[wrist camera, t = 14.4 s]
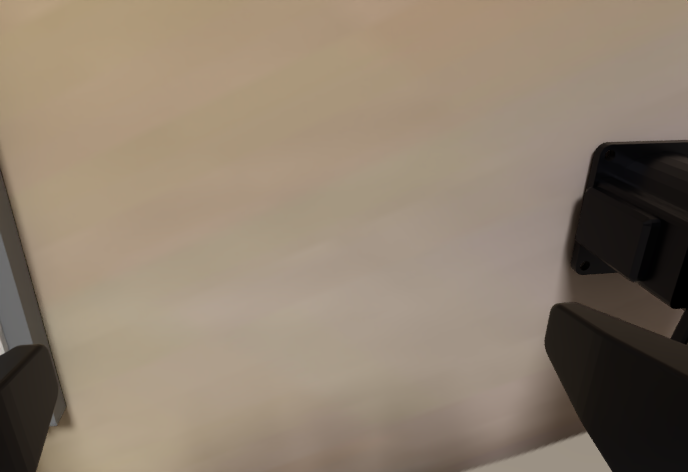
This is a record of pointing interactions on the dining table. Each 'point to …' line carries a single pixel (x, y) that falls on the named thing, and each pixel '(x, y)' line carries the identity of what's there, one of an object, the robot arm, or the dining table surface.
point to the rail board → (19, 295)
